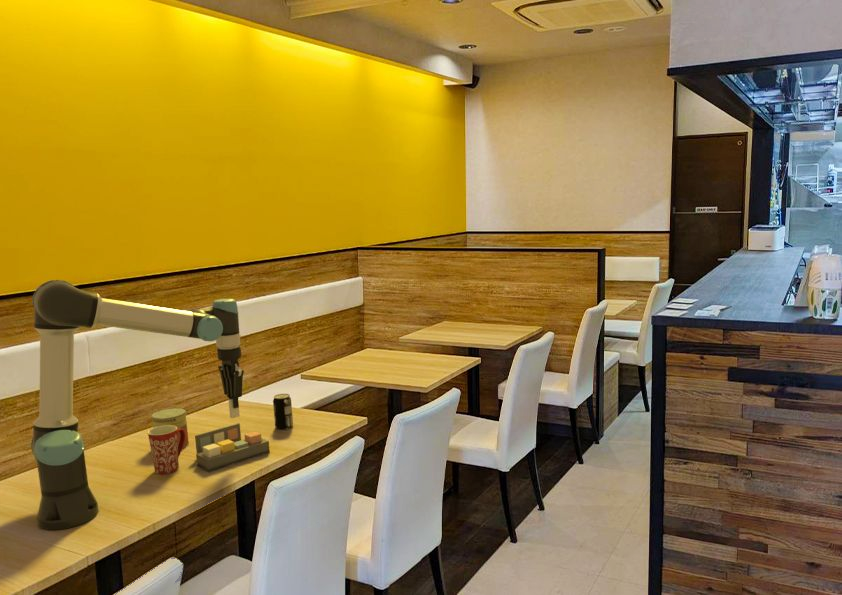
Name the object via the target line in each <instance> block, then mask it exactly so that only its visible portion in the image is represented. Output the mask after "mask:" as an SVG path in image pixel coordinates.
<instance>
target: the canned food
mask: <svg viewBox="0 0 842 595" xmlns="http://www.w3.org/2000/svg"><path fill="white" fill-rule="evenodd" d="M186 413H187V412H186V409H184V408H179V407H178V408H177V407H174V408H165V409H160V410H158V411H155V412H153V413H152V414H151V419H152V428H155V427H158V426H164V425H173V426H176V427H177V428H180V429H183V430H184V432H185V441H184V445H183V448H182V450H183V449H185V448H186V447H188V446H189V444H190V441H189V432H188V423H187V414H186ZM179 442H180V432H178V433H177V443H178V445H179Z"/></svg>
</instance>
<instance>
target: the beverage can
mask: <svg viewBox="0 0 842 595" xmlns="http://www.w3.org/2000/svg"><path fill="white" fill-rule="evenodd" d="M272 403H273V405H272V406H273V416H274V417H273V418H274V426H275V428H276V429H277V430H288V429H291V428H292V427H293V425H294V417H293V407H292V406H293V405H292V398H291V397H290V394H288V393H280V394H279V393H278V394H275V395H274V396H273V400H272Z"/></svg>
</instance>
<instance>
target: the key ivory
mask: <svg viewBox="0 0 842 595" xmlns="http://www.w3.org/2000/svg"><path fill="white" fill-rule="evenodd" d="M219 454H221V453H220V446H218V445H216V444H211V445H207V446H204V447H203V455H204V456H206V457H208V458H210V457H213V456H216V455H219Z"/></svg>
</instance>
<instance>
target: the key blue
mask: <svg viewBox="0 0 842 595" xmlns="http://www.w3.org/2000/svg"><path fill="white" fill-rule="evenodd" d="M243 440H244V439H241V440H240V441H237V442H234V447H235V448H236V449H239V448H242V447H245V446H248V442H246V441H243Z"/></svg>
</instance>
